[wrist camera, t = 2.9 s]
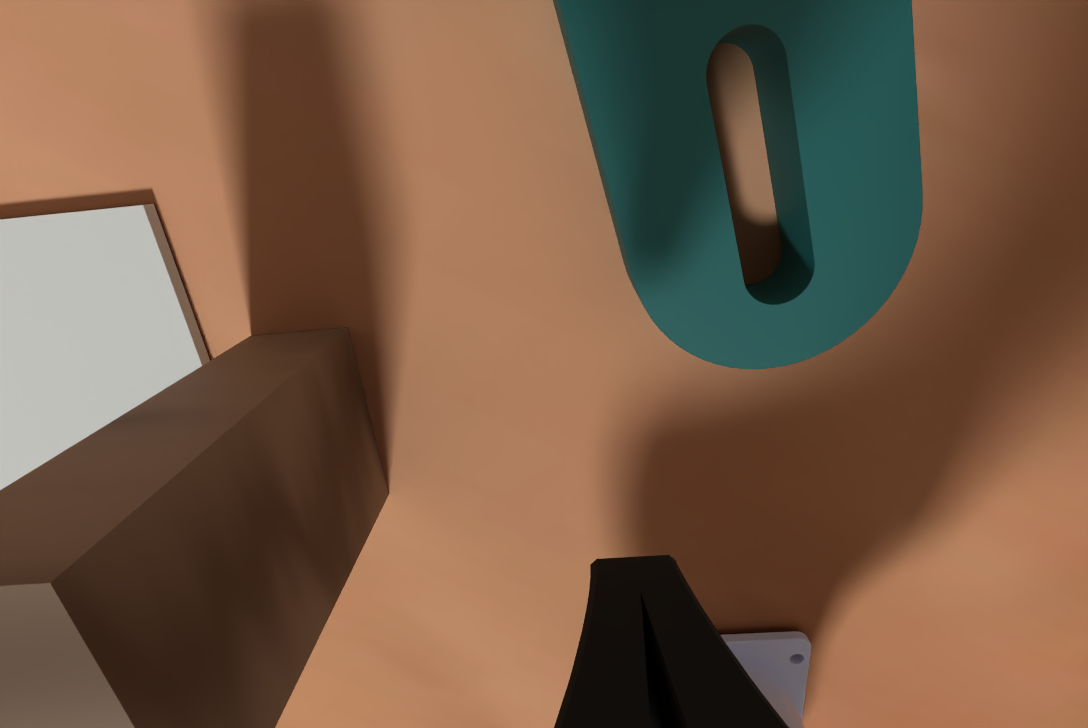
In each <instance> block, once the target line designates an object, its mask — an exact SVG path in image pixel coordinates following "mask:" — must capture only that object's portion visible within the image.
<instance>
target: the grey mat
mask: <svg viewBox="0 0 1088 728" xmlns="http://www.w3.org/2000/svg"><path fill="white" fill-rule="evenodd" d="M209 361H210V359H209V356H208V353H207V350H206V348H205V345H204V342H203V339H202V337H201V334H200V331H199V328H198V325H197V323H196V320H195V317H194V314H193V312H192V309H191V306H190V303H189V301H188V298H187V295H186V292H185V289H184V287H183V284H182V281H181V278H180V276H179V273H178V270H177V267H176V264H175V262H174V259H173V256H172V253H171V251H170V248H169V245H168V242H167V239H166V237H165V234H164V231H163V228H162V226H161V223H160V220H159V217H158V215H157V212H156V209H155V206H154V204H145V205H135V206H126V207H116V208H106V209H96V210H87V211H77V212H67V213H57V214H47V215H38V216H28V217H18V218H8V219H0V490H2V489H3V488H5V487H6V486H8V485H10V484H11V483H13V482H14V481H16V480H18V479H19V478H21V477H23V476H24V475H26V474H27V473H29V472H31V471H32V470H34V469H36V468H37V467H39V466H40V465H42V464H44V463H45V462H47V461H49V460H50V459H52V458H53V457H55V456H57V455H58V454H60V453H62V452H63V451H65V450H66V449H68V448H70V447H71V446H73V445H75V444H76V443H78V442H79V441H81V440H83V439H84V438H86V437H88V436H89V435H91V434H92V433H94V432H96V431H97V430H99V429H101V428H102V427H104V426H105V425H107V424H109V423H110V422H112V421H113V420H115V419H117V418H118V417H120V416H122V415H123V414H125V413H126V412H128V411H130V410H131V409H133V408H135V407H136V406H138V405H139V404H141V403H143V402H144V401H146V400H148V399H149V398H151V397H152V396H154V395H156V394H157V393H159V392H161V391H162V390H164V389H165V388H167V387H169V386H170V385H172V384H174V383H175V382H177V381H178V380H180V379H182V378H183V377H185V376H187V375H188V374H190V373H191V372H193V371H195V370H196V369H198V368H200V367H201V366H203V365H204V364H206V363H208V362H209Z"/></svg>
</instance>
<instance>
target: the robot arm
mask: <svg viewBox="0 0 1088 728" xmlns="http://www.w3.org/2000/svg"><path fill="white" fill-rule="evenodd" d="M810 654H811V643H810V641H809V639H808V637H807V636H806V635H805V634H804V633H802V632H797V631H790V632H768V633H747V634H726V635H720V634H719V632H718V631H717V630H716V628H715V627H714V625H713V624H712V622H711V620H710V619H709V617H708V616H707V614H706V613H705V611H704V610H703V608H702V606H701V605H700V603H699V602H698V600H697V598H696V597H695V595H694V594H693V592H692V590H691V588H690V587H689V585H688V583H687V582H686V580H685V578H684V576H683V574H682V573H681V571H680V569H679V567H678V565H677V563H676V561H675V560H674V559H673V558H672V557H670V556H669V555H661V556H643V557H625V558H607V559H596V560H595V561H594V562H593V563H592V564H591V577H590V589H589V597H588V603H587V609H586V614H585V619H584V624H583V629H582V634H581V637H580V641H579V645H578V649H577V653H576V657H575V661H574V665H573V669H572V673H571V676H570V680H569V683H568V686H567V689H566V692H565V696H564V699H563V702H562V705H561V708H560V711H559V714H558V717H557V720H556V723H555V727H554V728H805V727H804V725H803V723H802V715H803V707H804V700H805V692H806V685H807V677H808V669H809V662H810Z"/></svg>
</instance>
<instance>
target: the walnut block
mask: <svg viewBox="0 0 1088 728" xmlns="http://www.w3.org/2000/svg"><path fill="white" fill-rule="evenodd" d="M388 495H389V492H388V488H387V484H386V480H385V476H384V472H383V468H382V464H381V460H380V456H379V452H378V448H377V444H376V440H375V436H374V432H373V428H372V424H371V420H370V416H369V412H368V408H367V404H366V400H365V396H364V392H363V388H362V383H361V379H360V375H359V371H358V367H357V363H356V359H355V355H354V351H353V347H352V343H351V339H350V335H349V331H348V328H336V329H324V330H313V331H301V332H289V333H278V334H266V335H254V336H250V337H248V338H247V339H245V340H243V341H242V342H240V343H238V344H237V345H235V346H234V347H232V348H230V349H229V350H227V351H225V352H224V353H222V354H221V355H219V356H217V357H216V358H214V359H213V360H211V361H209V362H208V363H206V364H204V365H203V366H201V367H200V368H198V369H196V370H195V371H193V372H191V373H190V374H188V375H187V376H185V377H183V378H182V379H180V380H178V381H177V382H175V383H174V384H172V385H170V386H169V387H167V388H165V389H164V390H162V391H161V392H159V393H157V394H156V395H154V396H152V397H151V398H149V399H148V400H146V401H144V402H143V403H141V404H139V405H138V406H136V407H135V408H133V409H131V410H130V411H128V412H126V413H125V414H123V415H122V416H120V417H118V418H117V419H115V420H113V421H112V422H110V423H109V424H107V425H105V426H104V427H102V428H101V429H99V430H97V431H96V432H94V433H92V434H91V435H89V436H88V437H86V438H84V439H83V440H81V441H79V442H78V443H76V444H75V445H73V446H71V447H70V448H68V449H66V450H65V451H63V452H62V453H60V454H58V455H57V456H55V457H53V458H52V459H50V460H49V461H47V462H45V463H44V464H42V465H40V466H39V467H37V468H36V469H34V470H32V471H31V472H29V473H27V474H26V475H24V476H23V477H21V478H19V479H18V480H16V481H14V482H13V483H11V484H10V485H8V486H6V487H5V488H3V489H2V490H0V728H275V726H276V724H277V722H278V720H279V718H280V716H281V714H282V712H283V710H284V708H285V706H286V704H287V702H288V700H289V698H290V696H291V694H292V692H293V690H294V687H295V685H296V683H297V681H298V679H299V677H300V675H301V673H302V671H303V669H304V667H305V665H306V663H307V661H308V659H309V657H310V655H311V653H312V651H313V649H314V647H315V644H316V642H317V640H318V638H319V636H320V634H321V632H322V630H323V628H324V626H325V624H326V622H327V620H328V618H329V616H330V614H331V612H332V610H333V608H334V606H335V603H336V601H337V599H338V597H339V595H340V593H341V591H342V589H343V587H344V585H345V583H346V581H347V579H348V577H349V575H350V573H351V571H352V569H353V567H354V565H355V563H356V560H357V558H358V556H359V554H360V552H361V550H362V548H363V546H364V544H365V542H366V540H367V538H368V536H369V534H370V532H371V530H372V528H373V526H374V524H375V522H376V519H377V517H378V515H379V513H380V511H381V509H382V507H383V505H384V503H385V501H386V499H387V497H388Z"/></svg>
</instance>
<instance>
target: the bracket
mask: <svg viewBox="0 0 1088 728" xmlns="http://www.w3.org/2000/svg"><path fill="white" fill-rule="evenodd" d="M553 2H554V6H555V10H556V13H557V17H558V21H559V24H560V28H561V32H562V36H563V39H564V43H565V47H566V50H567V54H568V58H569V61H570V65H571V69H572V73H573V76H574V80H575V84H576V87H577V91H578V95H579V98H580V102H581V106H582V110H583V113H584V117H585V121H586V124H587V128H588V132H589V135H590V139H591V143H592V147H593V150H594V154H595V158H596V161H597V165H598V169H599V172H600V176H601V180H602V184H603V187H604V191H605V195H606V198H607V202H608V206H609V209H610V213H611V217H612V221H613V224H614V228H615V232H616V235H617V239H618V243H619V246H620V250H621V254H622V258H623V261H624V265H625V268H626V271H627V274H628V276H629V279H630V281H631V283H632V285H633V287H634V289H635V291H636V293H637V295H638V297H639V298H640V300H641V302H642V304H643V306H644V308H645V309H646V311H647V313H648V314H649V316H650V317H651V319H652V320H653V322H654V323H655V324H656V325H657V327H658V328H659V329H660V330H661V331H662V332H663V333H664V334H665V335H666V336H667V337H668V338H669V339H670V340H671V341H673V342H674V343H675V344H676V345H678V346H679V347H680V348H682V349H684V350H685V351H687V352H689V353H690V354H692V355H694V356H696V357H698V358H700V359H703V360H705V361H708V362H711V363H714V364H718V365H722V366H726V367H732V368H740V369H765V368H774V367H780V366H785V365H789V364H793V363H797V362H800V361H803V360H806V359H808V358H811V357H814V356H816V355H818V354H820V353H822V352H824V351H826V350H828V349H830V348H832V347H833V346H835V345H837V344H839V343H840V342H842V341H843V340H845V339H846V338H847V337H849V336H850V335H852V334H853V333H854V332H856V331H857V330H858V329H859V328H860V327H861V326H863V325H864V324H865V323H866V322H867V321H868V320H869V319H870V318H871V317H872V316H873V315H874V314H875V313H876V312H877V311H878V310H879V309H880V308H881V306H882V305H883V304H884V303H885V301H886V300H887V299H888V298H889V296H890V295H891V293H892V292H893V290H894V289H895V288H896V286H897V285H898V283H899V281H900V279H901V277H902V276H903V274H904V272H905V270H906V268H907V266H908V263H909V261H910V259H911V257H912V254H913V251H914V248H915V245H916V242H917V238H918V234H919V229H920V225H921V217H922V175H921V157H920V140H919V122H918V105H917V87H916V70H915V53H914V35H913V18H912V0H553ZM721 42H727V43H732V44H735V45H737V46H739V47H741V48H742V49H743V50H744V51H745V52H746V53H747V54H748V56H749V57H750V59H751V61H752V64H753V68H754V74H755V81H756V87H757V93H758V100H759V106H760V112H761V119H762V125H763V131H764V138H765V144H766V150H767V157H768V163H769V169H770V176H771V182H772V188H773V195H774V201H775V208H776V214H777V220H778V227H779V233H780V239H781V246H782V255H781V259H780V262H779V264H778V266H777V268H776V269H775V271H774V272H773V273H772V274H771V275H770V276H769V277H768V278H766V279H765V280H763V281H761V282H759V283H756V284H752V285H745V284H744V279H743V274H742V269H741V263H740V258H739V253H738V247H737V242H736V237H735V231H734V226H733V221H732V216H731V210H730V205H729V200H728V194H727V189H726V184H725V178H724V173H723V168H722V162H721V157H720V152H719V147H718V141H717V136H716V131H715V125H714V120H713V115H712V109H711V104H710V99H709V93H708V88H707V82H706V70H707V64H708V60H709V58H710V55H711V53H712V51H713V49H714V47H715V46H716V44H717V43H721Z"/></svg>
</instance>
